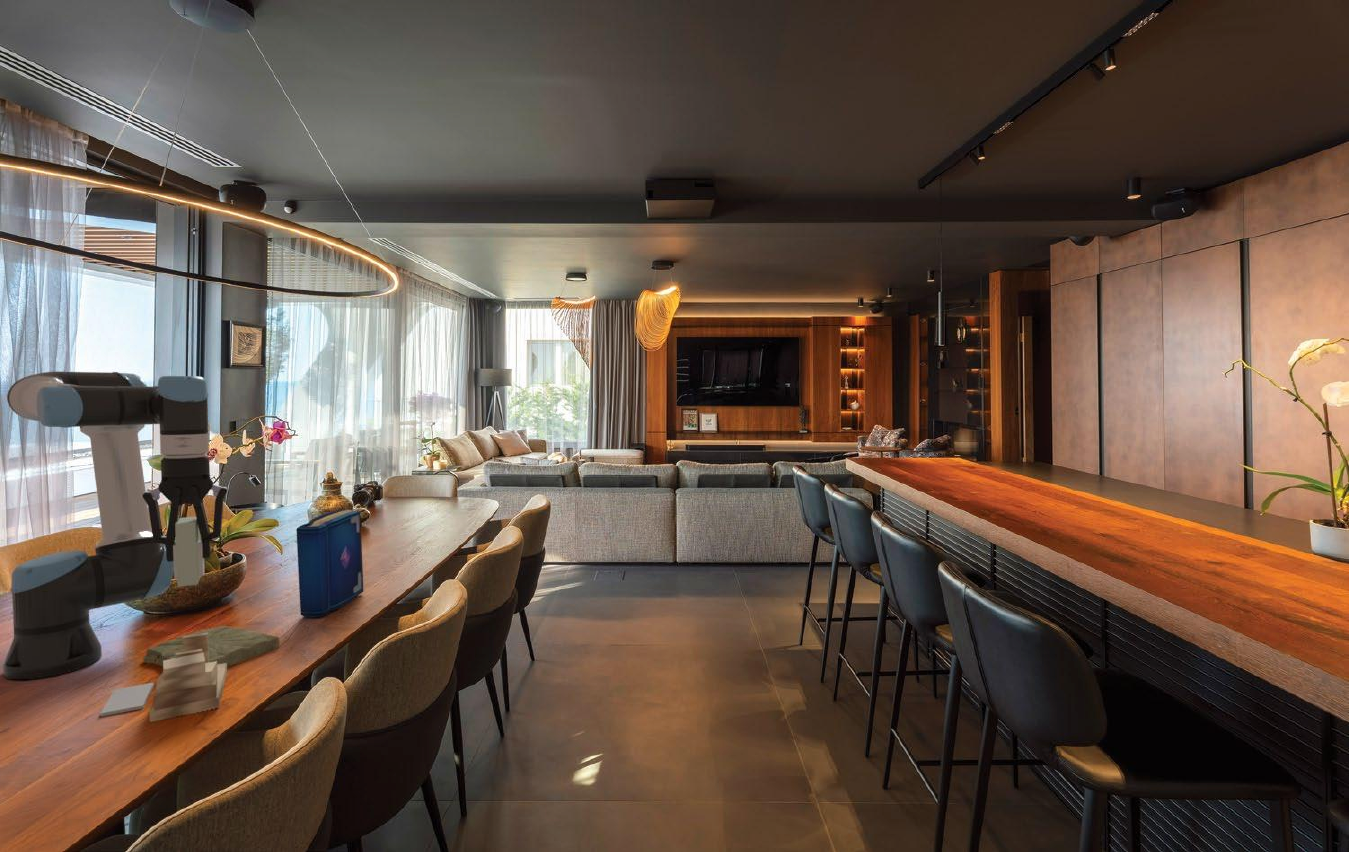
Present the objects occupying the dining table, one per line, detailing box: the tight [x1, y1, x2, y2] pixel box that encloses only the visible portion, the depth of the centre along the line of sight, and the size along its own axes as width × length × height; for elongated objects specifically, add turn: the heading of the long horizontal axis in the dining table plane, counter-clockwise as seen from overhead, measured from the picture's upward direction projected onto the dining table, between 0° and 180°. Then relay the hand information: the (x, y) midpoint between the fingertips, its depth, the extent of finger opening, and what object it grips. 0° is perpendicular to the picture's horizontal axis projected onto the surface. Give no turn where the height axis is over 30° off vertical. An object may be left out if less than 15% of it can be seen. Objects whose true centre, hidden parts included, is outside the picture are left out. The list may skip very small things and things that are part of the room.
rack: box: [149, 633, 228, 723], centre depth 125 cm, size 10×18×9 cm, turn 30°
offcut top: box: [162, 653, 205, 681], centre depth 119 cm, size 6×5×2 cm
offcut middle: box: [156, 661, 218, 693], centre depth 120 cm, size 8×5×2 cm, turn 115°
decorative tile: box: [142, 625, 280, 668], centre depth 144 cm, size 19×20×4 cm
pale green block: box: [175, 516, 202, 588], centre depth 127 cm, size 3×7×12 cm, turn 31°
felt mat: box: [99, 682, 155, 718], centre depth 123 cm, size 6×11×1 cm, turn 31°
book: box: [296, 509, 364, 618], centre depth 177 cm, size 22×7×25 cm, turn 179°
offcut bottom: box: [153, 676, 217, 711], centre depth 120 cm, size 9×6×2 cm, turn 123°
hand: (189, 575), depth 127 cm, fingers closed on pale green block, 3 cm apart
